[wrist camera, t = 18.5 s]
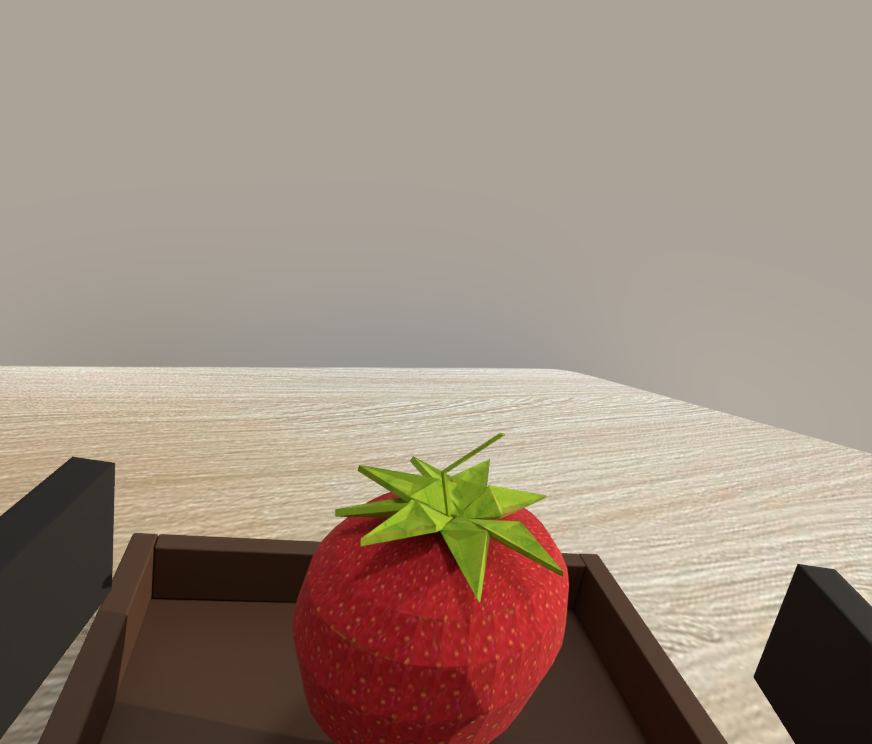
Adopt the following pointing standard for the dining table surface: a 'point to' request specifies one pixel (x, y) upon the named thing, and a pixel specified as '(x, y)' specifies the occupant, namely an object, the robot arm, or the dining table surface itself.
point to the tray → (279, 669)
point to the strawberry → (430, 610)
